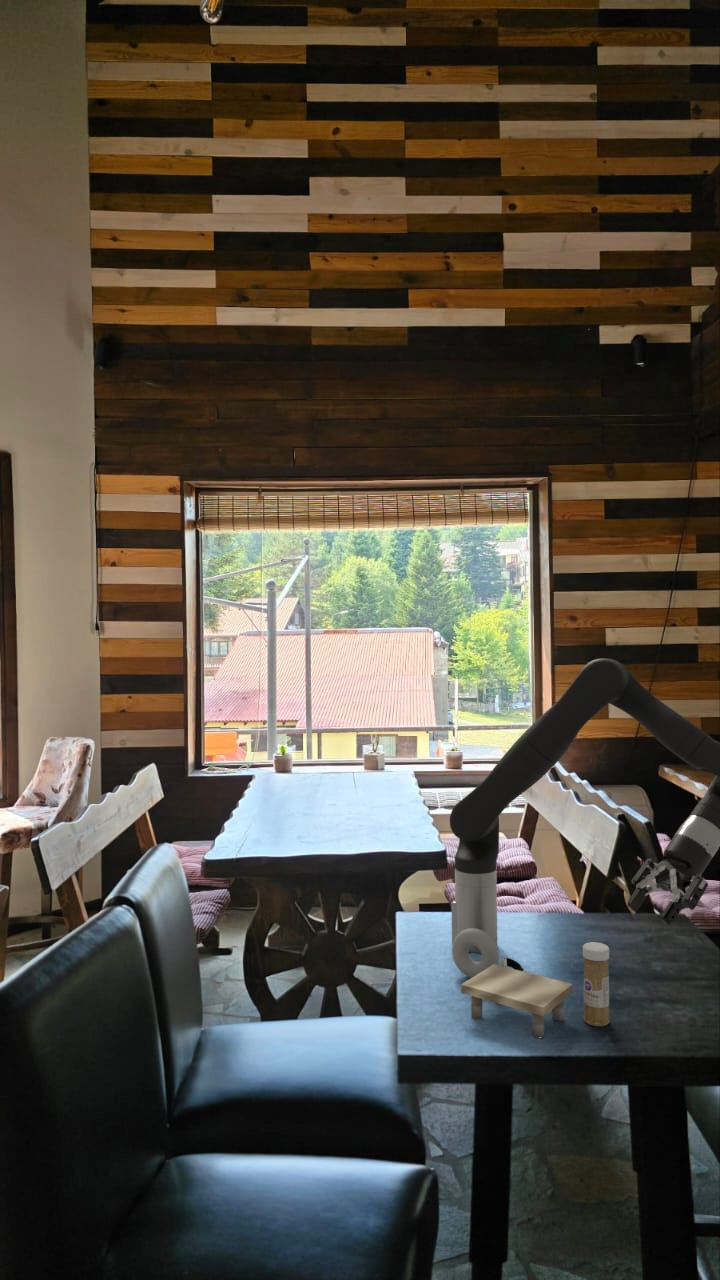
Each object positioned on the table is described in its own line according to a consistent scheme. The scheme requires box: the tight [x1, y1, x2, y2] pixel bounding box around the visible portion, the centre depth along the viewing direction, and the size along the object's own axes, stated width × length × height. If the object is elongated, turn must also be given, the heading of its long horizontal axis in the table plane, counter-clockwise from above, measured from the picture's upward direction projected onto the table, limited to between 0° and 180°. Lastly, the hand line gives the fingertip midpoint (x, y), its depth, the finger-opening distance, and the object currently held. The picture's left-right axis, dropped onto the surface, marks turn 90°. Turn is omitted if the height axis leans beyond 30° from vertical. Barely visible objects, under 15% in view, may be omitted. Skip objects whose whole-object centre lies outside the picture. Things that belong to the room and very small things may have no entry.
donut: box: [451, 928, 500, 979], centre depth 167 cm, size 10×4×10 cm, turn 57°
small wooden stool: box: [460, 964, 574, 1039], centre depth 149 cm, size 16×12×6 cm
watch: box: [499, 957, 525, 972], centre depth 169 cm, size 8×5×4 cm, turn 0°
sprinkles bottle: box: [582, 941, 611, 1027], centre depth 148 cm, size 5×5×14 cm
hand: (647, 915), depth 152 cm, fingers open, 8 cm apart
